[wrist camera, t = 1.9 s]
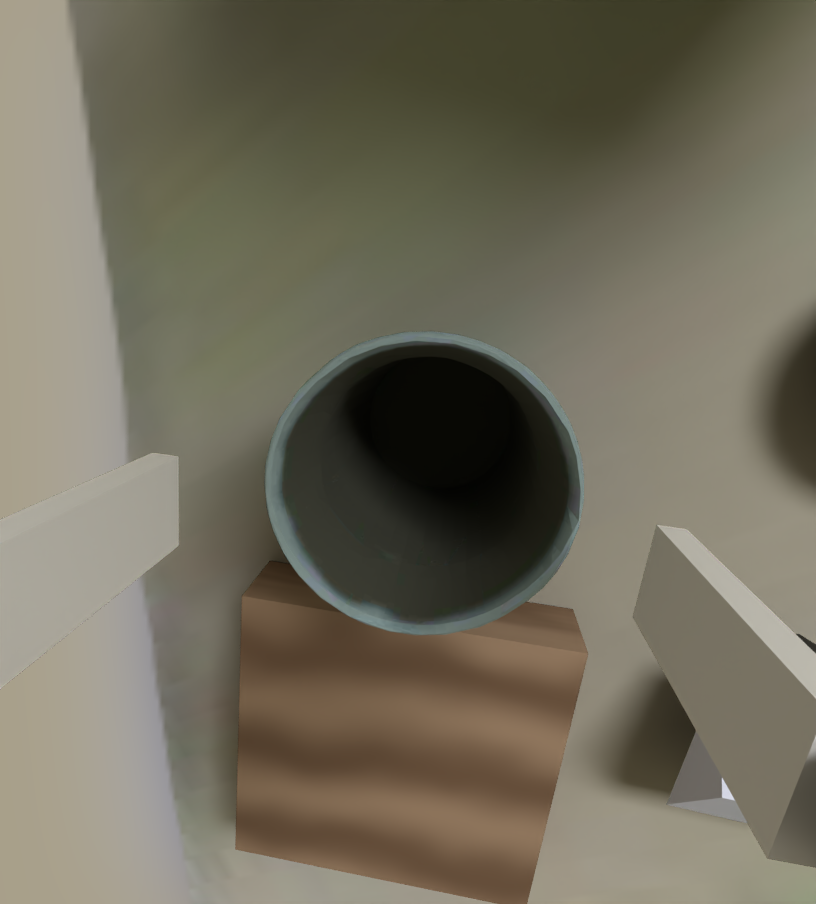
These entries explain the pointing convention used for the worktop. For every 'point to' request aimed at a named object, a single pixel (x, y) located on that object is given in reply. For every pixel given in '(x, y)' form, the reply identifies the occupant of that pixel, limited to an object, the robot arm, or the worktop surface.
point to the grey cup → (424, 483)
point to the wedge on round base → (703, 786)
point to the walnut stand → (402, 740)
